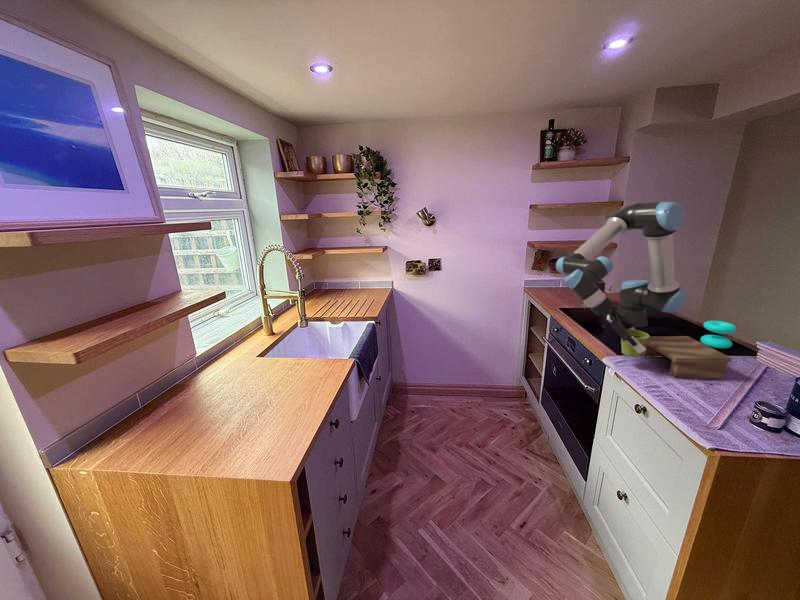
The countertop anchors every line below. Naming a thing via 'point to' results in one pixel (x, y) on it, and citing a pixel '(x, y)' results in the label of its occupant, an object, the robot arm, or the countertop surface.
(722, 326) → the donuts
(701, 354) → the walnut shelf stand
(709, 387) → the countertop surface
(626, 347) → the plant pot
